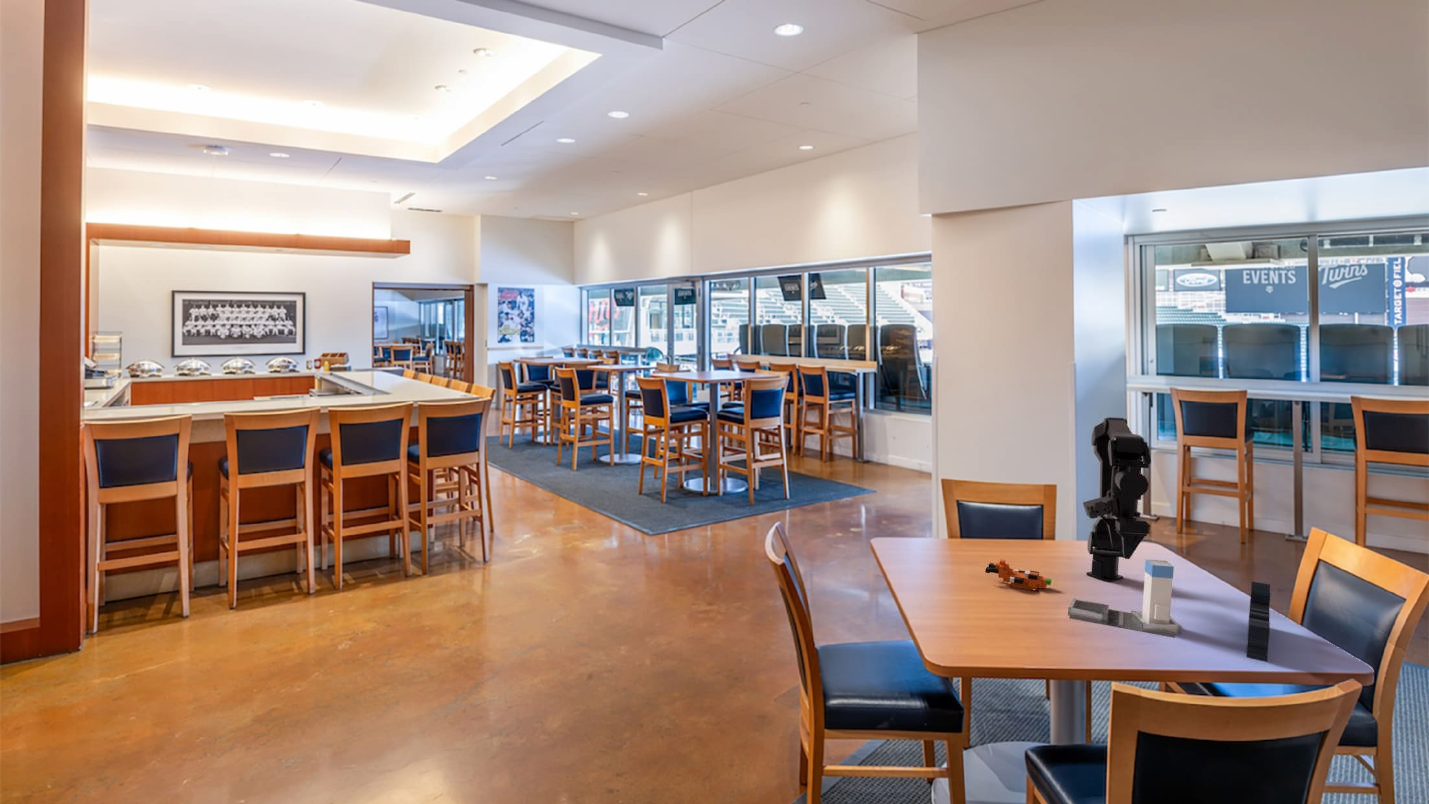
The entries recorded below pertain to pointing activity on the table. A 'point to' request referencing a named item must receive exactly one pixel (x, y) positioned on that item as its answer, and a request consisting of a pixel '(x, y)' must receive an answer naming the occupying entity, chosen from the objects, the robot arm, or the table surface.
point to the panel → (1119, 621)
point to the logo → (1258, 622)
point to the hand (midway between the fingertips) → (1120, 553)
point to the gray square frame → (1155, 624)
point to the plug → (1157, 591)
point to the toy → (1018, 576)
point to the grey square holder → (1088, 614)
